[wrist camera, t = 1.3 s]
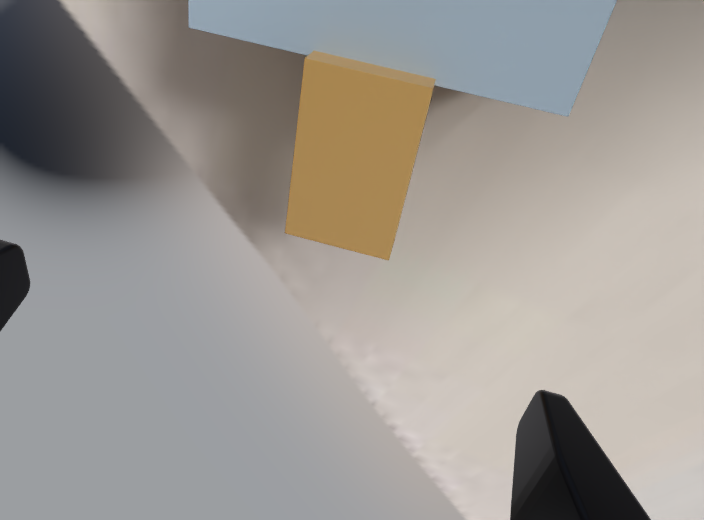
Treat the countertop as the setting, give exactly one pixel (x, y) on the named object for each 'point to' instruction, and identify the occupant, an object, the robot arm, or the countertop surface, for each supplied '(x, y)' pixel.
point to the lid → (400, 88)
